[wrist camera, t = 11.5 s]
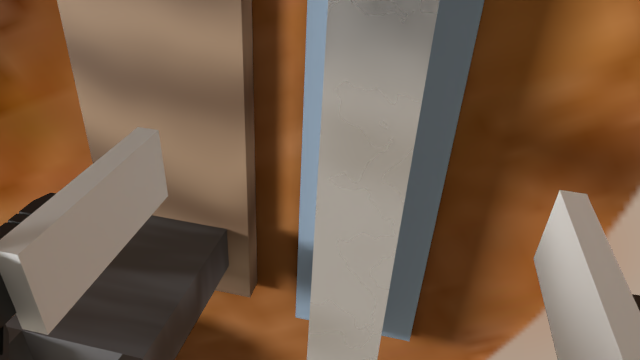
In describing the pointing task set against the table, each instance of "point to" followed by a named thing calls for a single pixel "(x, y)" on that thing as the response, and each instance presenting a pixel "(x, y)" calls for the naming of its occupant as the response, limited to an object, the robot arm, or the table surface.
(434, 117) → the mat
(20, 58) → the table surface
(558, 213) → the robot arm
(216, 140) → the wooden stand
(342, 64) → the rail
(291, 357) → the table surface
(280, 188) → the table surface
